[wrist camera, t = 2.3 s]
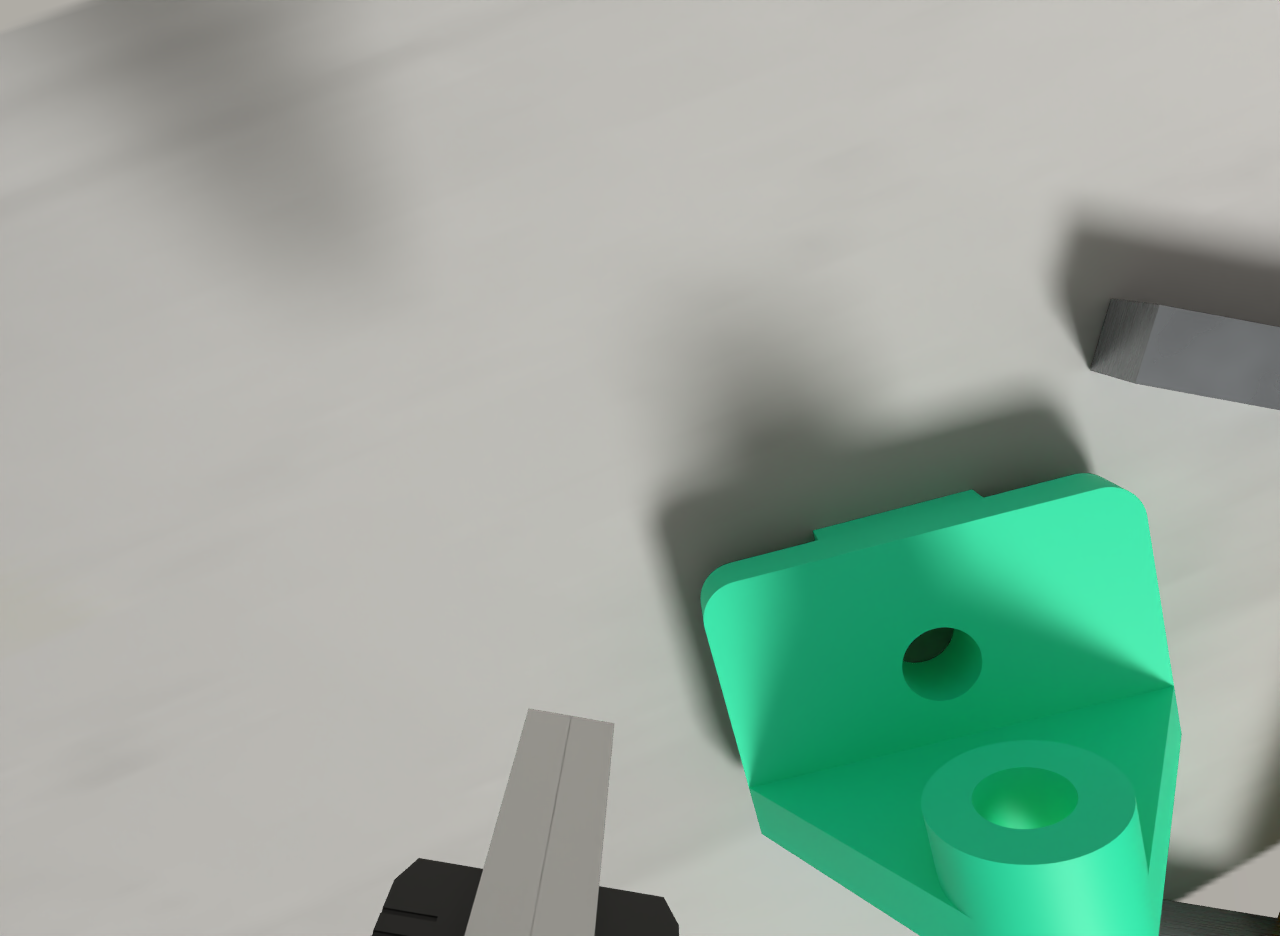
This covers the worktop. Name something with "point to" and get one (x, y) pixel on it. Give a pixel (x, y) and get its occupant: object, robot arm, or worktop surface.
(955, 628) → the camera mount
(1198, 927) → the dock
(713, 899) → the worktop surface
